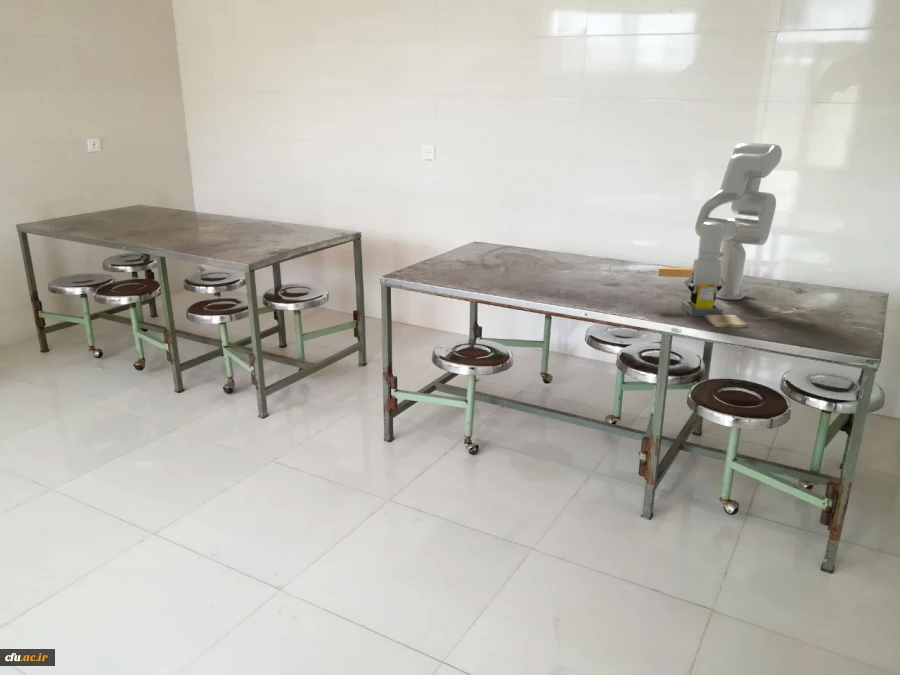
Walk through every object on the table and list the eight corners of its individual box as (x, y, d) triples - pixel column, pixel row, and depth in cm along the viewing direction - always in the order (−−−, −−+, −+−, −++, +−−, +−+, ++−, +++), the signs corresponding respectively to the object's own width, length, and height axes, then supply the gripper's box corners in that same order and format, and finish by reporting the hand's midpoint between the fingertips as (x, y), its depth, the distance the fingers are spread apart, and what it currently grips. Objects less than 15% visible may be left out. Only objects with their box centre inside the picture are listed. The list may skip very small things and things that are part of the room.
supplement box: (706, 309, 258) (709, 281, 254) (712, 313, 253) (716, 285, 249) (690, 309, 258) (694, 281, 254) (696, 313, 252) (700, 285, 249)
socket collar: (710, 306, 261) (711, 300, 260) (722, 316, 250) (723, 309, 249) (681, 307, 261) (682, 300, 260) (691, 316, 250) (692, 309, 249)
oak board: (734, 317, 248) (734, 314, 248) (746, 327, 238) (747, 324, 238) (704, 317, 248) (704, 314, 248) (715, 327, 238) (716, 324, 237)
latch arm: (696, 304, 263) (701, 266, 258) (697, 305, 261) (702, 267, 256) (654, 302, 265) (658, 265, 260) (655, 304, 263) (659, 266, 258)
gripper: (728, 253, 252) (721, 299, 258) (681, 253, 251) (676, 299, 258) (736, 258, 245) (729, 305, 251) (688, 258, 244) (682, 305, 250)
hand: (702, 302), depth 254 cm, fingers closed on supplement box, 6 cm apart
